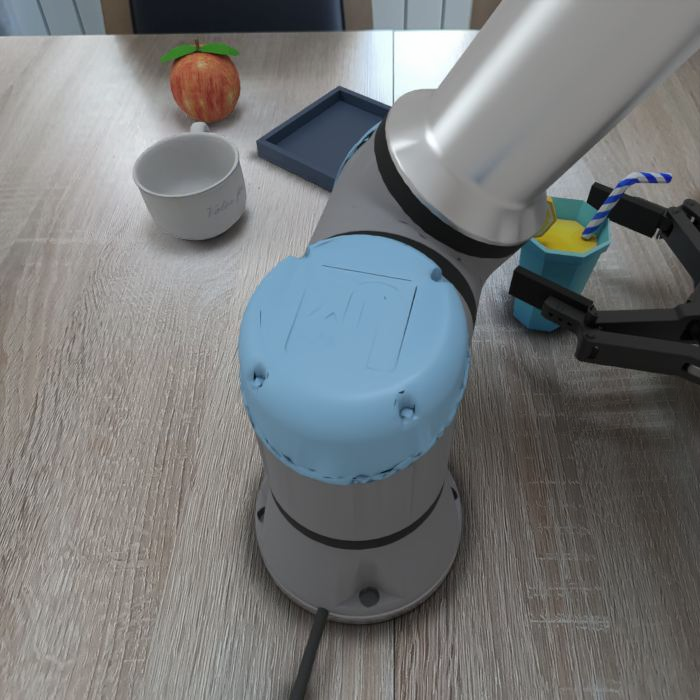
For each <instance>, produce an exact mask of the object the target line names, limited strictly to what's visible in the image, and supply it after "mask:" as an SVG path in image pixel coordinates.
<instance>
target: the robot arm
mask: <svg viewBox="0 0 700 700" xmlns="http://www.w3.org/2000/svg"><path fill="white" fill-rule="evenodd" d="M699 49H700V0H501V1H500V3H499V4H498V5H497V7H496V8H495V9H494V11H493V12H492V14H491V15H490V16H489V17H488V19H487V20H486V22H485V23H484V24H483V26H482V27H481V28H480V29H479V31H478V32H477V34H476V35H475V37H474V38H473V39H472V40H471V42H470V43H469V45H468V46H467V47H466V49H465V50H464V52H463V53H461V55H460V57H459V58H458V59H457V61H456V62H455V64H453V67H452V68H451V69H450V70H449V72H448V73H447V74H446V75H445V77H444V78H443V80H442V81H441V83H440V84H439V85H438V86H437V88H418V89H413V90H411V91H408V92H405V93H404V94H402V95H401V96H399V97H398V98H397V99H396V100H395V101H394V103H393V104H392V105H391V108H390V110H389V111H388V113H387V114H386V116H385V117H384V119H383V120H382V121H381V122H379V123H377V124H376V125H375V126H374V127H372V128H371V129H370V130H369V131H368V132H367V133H366V134H365V135H364V136H363V137H362V138H361V139H360V140H359V142H358V143H357V144H355V146H354V147H353V148H352V149H351V150H350V152H349V153H348V155H347V157H346V158H345V160H344V162H343V163H342V165H341V167H340V169H339V172H338V174H337V177H336V180H335V183H334V187H333V190H332V192H331V193H330V195H329V197H328V200H327V202H326V203H325V206H324V209H323V210H322V213H321V215H320V218H319V220H318V222H317V224H316V226H315V228H314V231H313V232H312V236H311V237H310V240H309V242H308V244H307V246H306V247H305V251H304V254H303V256H301V257H297V256H293V255H288V256H286V257H284V259H282V260H281V261H280V262H278V263H277V264H276V265H275V266H273V268H271V270H269V272H268V273H266V275H265V276H264V277H263V278H262V279H261V281H260V282H259V284H258V285H257V286H256V287H255V290H254V291H253V292H252V294H251V296H250V298H249V300H248V302H247V305H246V307H245V309H244V312H243V315H242V319H241V322H240V327H239V332H238V333H239V334H238V341H237V343H238V344H237V345H238V346H237V350H238V351H237V353H238V363H239V369H238V379H239V382H240V383H239V387H240V393H241V395H242V402H243V407H244V410H245V412H246V415H247V417H248V419H249V421H250V424H251V427H252V429H253V431H254V435H255V438H256V442H257V446H258V449H259V450H258V451H259V453H260V454H259V455H260V458H261V461H262V465H263V468H264V472H265V474H264V476H263V479H262V482H261V484H260V487H259V491H258V494H257V498H256V504H255V509H254V532H255V538H256V542H257V545H258V549H259V552H260V555H261V558H262V561H263V564H264V566H265V568H266V570H267V572H268V574H269V575H270V577H271V579H272V580H273V582H274V583H275V585H276V586H277V587H278V588H279V589H280V591H281V592H282V593H283V594H284V595H285V596H286V597H287V598H288V599H290V601H292V602H293V603H294V604H296V605H297V606H298V607H300V608H301V609H303V610H305V611H307V612H308V613H310V614H312V615H314V616H315V617H314V618H313V619H314V620H313V623H312V626H311V628H310V632H309V634H308V639H307V642H306V644H305V648H304V651H303V655H302V658H301V661H300V665H299V668H298V671H297V675H296V679H295V681H294V684H293V688H292V689H291V693H290V696H289V699H288V700H303V699H304V696H305V693H306V689H307V686H308V683H309V680H310V676H311V673H312V669H313V667H314V666H313V665H314V663H315V659H316V655H317V652H318V649H319V647H320V646H319V645H320V643H321V639H322V637H323V632H324V629H325V626H326V624H327V621H332V622H336V623H342V624H348V625H368V624H376V623H383V622H385V621H390V620H393V619H395V618H398V617H400V616H403V615H406V614H407V613H409V612H411V611H412V610H414V609H416V608H417V607H419V606H420V605H422V604H423V603H424V602H426V600H428V599H429V598H430V597H431V596H432V595H433V594H434V593H435V592H436V591H437V590H438V589H439V588H440V586H441V585H442V583H444V581H445V579H446V577H447V576H448V575H449V573H450V571H451V569H452V566H453V565H454V562H455V559H456V557H457V554H458V549H459V546H460V542H461V537H462V532H463V507H462V502H461V497H460V494H459V489H458V487H457V484H456V481H455V478H454V477H453V475H452V473H451V470H450V469H449V467H448V465H449V460H450V455H451V451H452V444H453V439H454V433H455V428H456V422H457V417H458V411H459V408H460V406H461V403H462V400H463V397H464V395H465V390H466V387H467V384H468V383H467V382H468V381H469V380H468V379H469V371H470V365H471V346H472V342H473V337H474V336H473V335H474V331H475V326H476V322H477V314H478V310H479V305H480V299H481V294H482V290H483V288H484V285H485V284H486V283H487V282H486V281H488V279H489V277H490V276H491V275H492V274H493V273H494V272H495V271H496V270H497V269H499V268H500V267H501V266H502V265H503V264H504V263H505V262H507V261H508V260H509V259H510V258H511V257H513V256H514V255H515V254H516V253H517V252H518V251H520V250H521V247H522V246H523V245H525V244H526V243H527V242H528V241H529V240H530V239H532V238H533V237H534V236H535V235H536V234H537V233H538V232H539V231H540V230H541V228H542V226H543V224H544V222H545V219H546V215H547V196H548V195H547V193H548V191H547V190H549V188H550V187H552V185H554V184H555V183H556V182H557V181H558V180H559V179H560V178H561V177H562V176H564V175H565V174H566V173H567V172H568V171H569V170H570V169H571V168H572V167H573V166H574V165H575V164H577V162H578V161H580V160H581V159H582V158H583V157H584V156H585V155H586V154H587V153H588V152H589V151H590V150H592V149H593V148H594V147H595V146H596V145H597V144H598V143H599V142H600V141H602V139H603V138H604V137H606V136H607V135H608V134H609V133H610V132H611V131H612V130H613V129H614V128H615V127H616V126H617V125H618V124H620V123H621V122H622V121H623V120H624V119H625V118H626V117H627V116H628V115H629V114H630V113H632V112H633V111H634V110H635V109H636V108H637V107H638V106H639V105H640V104H642V103H643V102H644V100H646V99H647V98H648V97H649V96H650V95H651V94H652V93H653V92H654V91H655V90H656V89H657V88H659V86H660V85H662V84H663V83H664V82H665V81H666V80H667V79H668V78H669V77H670V76H672V75H673V73H675V72H676V71H677V70H679V68H680V67H681V66H682V65H684V63H686V62H687V61H688V60H689V59H690V58H691V57H692V56H693V55H694V54H695V53H697V52H698V51H699ZM613 190H614V188H612V187H610V186H609V185H608V186H607V185H605V184H602V183H601V182H598V181H594V183H593V184H592V185H591V186H590V189H589V192H588V195H587V199H586V201H585V202H586V203H588V204H589V205H591V206H592V207H593V208H595V209H596V210H599V209H600V208H601V206H602V205H603V204H604V202H605V201H606V199H607V198H608V197H609V195H610V194H611V193H612V191H613ZM607 218H609V219H610V222H612V223H614V224H616V225H619V226H621V227H623V228H626V229H628V230H630V231H633V232H636V233H638V234H640V235H643V236H645V237H647V238H650V239H653V237H654V236H655V240H662V239H663V241H664V242H665V243H666V245H667V246H668V247H669V249H670V250H671V251H672V253H673V254H674V256H675V257H676V258H677V260H678V261H679V262H680V264H681V265H682V266H683V268H684V270H686V272H687V273H688V275H689V277H690V278H691V279H692V280H693V283H694V285H693V287H694V290H693V292H691V294H690V295H689V296H688V298H687V299H686V301H685V303H680V304H677V305H676V306H674V307H670V308H646V309H645V308H644V309H643V308H642V309H611V310H608V309H607V310H597V308H596V306H595V304H594V300H592V299H590V298H588V297H586V296H584V295H582V294H581V295H579V294H577V293H575V292H573V291H571V290H569V289H567V288H565V287H563V286H561V285H559V284H557V283H555V282H553V281H550V280H548V279H546V278H544V277H542V276H540V275H538V274H536V273H534V272H532V271H530V270H528V269H526V268H524V267H521V266H519V264H518V265H517V266H516V267H515V268H514V269H513V271H512V276H511V280H510V284H509V288H508V295H510V296H512V297H514V298H515V297H516V298H518V299H519V300H521V301H523V302H525V303H527V304H529V305H531V306H533V307H535V308H537V309H539V310H541V315H542V316H543V317H544V318H545V319H547V320H549V321H552V322H553V323H555V324H557V325H559V326H560V327H561V328H562V329H565V330H567V331H569V332H570V333H572V334H573V335H575V337H576V339H577V341H576V348H575V351H574V355H573V356H574V358H575V359H576V360H577V361H578V362H582V363H587V364H592V365H598V366H599V365H600V366H607V367H612V368H618V369H619V368H620V369H626V370H633V371H639V372H645V373H652V374H658V375H665V376H672V377H678V378H681V379H683V380H685V381H688V382H690V383H693V384H695V385H697V386H700V203H699V202H698V201H697V200H695V199H693V198H685V199H684V200H683V201H682V204H680V205H678V206H676V205H675V206H669V207H665V206H663V205H660V204H657V203H656V202H653V201H651V200H649V199H645V198H642V197H640V196H632V195H630V194H627V193H624V194H623V195H622V197H621V198H620V199H619V201H618V202H617V203H616V205H615V206H614V207H613V209H612V210H611V211H610V213H609V214H608V215H607ZM692 218H694V219H693V220H692ZM691 220H692V221H691ZM657 230H658V231H657ZM656 232H657V233H656ZM697 345H698V346H697Z"/></svg>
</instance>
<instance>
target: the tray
mask: <svg viewBox="0 0 700 700" xmlns="http://www.w3.org/2000/svg"><path fill="white" fill-rule="evenodd" d="M391 107H392V105H389V104H386V103H384V102H381V101H379V100H376V99H374V98H371V97H369V96H367V95H364V94H361V93H359V92H356V91H354V90H352V89H349V88H347V87H344V86H342V85H338V86H336V87H334V88H333V89H332V90H330V91H328V92H327V93H325V94H324V95H322V96H321V97H319V98H318V99H315V101H313V102H311V103H310V104H309V105H307V106H306V107H304V108H303V109H301V110H299V111H298V112H297V113H295V114H294V115H292V116H291V117H290V118H288V119H285V121H283V122H282V123H280V124H279V125H277V126H276V127H274V128H273V129H272V130H269V131H268V132H266V133H265V134H264V135H262V136H261V137H260V138H258V139H256V140H255V145H256V149H257V150H256V151H257V156H258V157H260V158H262V159H264V160H266V161H268V162H270V163H272V164H274V165H276V166H277V167H280V168H282V169H285V170H286V171H288V172H291V173H292V174H294V175H296V176H299V177H301V178H302V179H305V180H307V181H308V182H311V183H313V184H314V185H317V186H318V187H320V188H323V189H325V190H327V191H329V192H331V193H332V190H333V187H334V183H335V180H336V177H337V174H338V172H339V169H340V167H341V165H342V163H343V162H344V160H345V158H346V157H347V155H348V153H349V152H350V150H351V149H352V148H353V147H354V146H355V144H357V143H358V142H359V140H360V139H361V138H362V137H363V136H364V135H365V134H366V133H367V132H368V131H369V130H370V129H371V128H372V127H374V126H375V125H376V124H377V123H379V122H381V121H382V120H383V119H384V117H385V116H386V114H387V113H388V111H389V110H390V108H391Z"/></svg>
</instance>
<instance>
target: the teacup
mask: <svg viewBox="0 0 700 700" xmlns="http://www.w3.org/2000/svg"><path fill="white" fill-rule="evenodd" d="M131 171H132V172H131V173H132V179H133V181H134V183H135V185H136V187H137V188H138V190H139V193H140V195H141V197H142V200H143V202H144V204H145V206H146V209H147V210H148V213H149V214H150V216H151V218H152V220H153V221H154V223H155V224H156V225H157V227H159V229H161V230H162V231H163V232H164V233H166V234H168V235H169V236H172V237H174V238H177V239H182V240H188V241H189V240H190V241H204V240H205V241H206V240H210V239H212V238H213V239H214V238H216V237H218V236H220V235H222V234H224V233H225V232H226V231H227V230H229V229H230V228H231V227H232V226H234V225H235V224H236V222H238V220H239V219H240V218H241V216H242V214H243V213H244V210H245V208H246V203H247V188H246V183H245V182H246V181H245V177H244V173H243V169H242V165H241V161H240V151H239V149H238V147H237V145H236V144H235V143H234V142H233V141H232V140H231V139H230V138H228V137H226V136H224V135H222V134H220V133H216V132H210V128H209V126H208V124H207V122H201V121H196V122H193V123H192V124H191V125H190V128H189V131H188V132H182V133H178V134H174V135H170V136H167V137H164V138H163V139H161V140H159V141H157V142H155V143H153V144H152V145H150V146H149V147H147V148H146V149H145V150H144V151H143V152H142V153H141V154H140V155H139V156H138V157H137V158H136V160H135V162H134V164H133V166H132V170H131Z"/></svg>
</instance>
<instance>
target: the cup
mask: <svg viewBox="0 0 700 700" xmlns="http://www.w3.org/2000/svg"><path fill="white" fill-rule="evenodd" d="M672 180H673V174H672V173H670V172H656V171H655V172H654V171H653V172H651V171H633V172H630V174H628V175H626V176H625V177H624V178H623V179H621V180H620V181H618V183H617V184H616V186H615V187H614V188H613V189H614V190H613V191H612V193H611V194H610V195H609V197H608V198H607V199H606V201H605V202H604V204H603V205H602V206H601V208H600V209H599V210H596V209H595V208H593V207H592V206H591V205H589V204H588V203H586V202H587V201H585V200H584V199H577V198H576V199H575V198H568V197H567V198H566V197H557V196H549V195H547V215H546V219H545V222H544V224H543V226H542V228H541V230H540V231H539V232H538V233H537V234H536V235H535V236H534V237H533V238H532V239H530V240H529V241H528V242H527V243H526V244H525V245H523V246H522V247H521V248H520V253H519V261H518V265H519V266H521V267H524V268H526V269H528V270H530V271H532V272H534V273H536V274H538V275H540V276H542V277H544V278H546V279H548V280H550V281H553V282H555V283H557V284H559V285H561V286H563V287H565V288H567V289H569V290H571V291H573V292H575V293H577V294H579V295H582V293H583V291H584V289H585V287H586V284H587V283H588V281H589V279H590V277H591V275H592V273H593V271H594V269H595V267H596V265H597V263H598V261H599V259H600V257H601V255H602V254H604V253H606V252H607V250H608V248H609V247H610V246H611V244H612V243H611V241H612V239H611V221H610V219H609V218H607V215H608V214H609V213H610V211H611V210H612V209H613V207H614V206H615V205H616V203H617V202H618V201H619V199H620V198H621V197H622V195H623V194H624V193H625V192H626V191H627V190H628V189H629V188H630V187H631V186H633V185H635V184H670V183H671V182H672ZM625 194H626V193H625ZM513 302H514V304H513V313H512V315H513V316H514V318H516V319H517V321H519V322H520V323H521V324H522V325H523V326H525V327H526V328H527V329H528V330H536V331H542V332H549V333H550V332H553V331H554V330H556V329H558V328H560V327H561V326H559V325H557V324H555V323H553V322H552V321H549V320H547V319H545V318H544V317H543V316H542V315H541V310H539V309H537V308H535V307H533V306H531V305H529V304H527V303H525V302H523V301H521V300H519V299H518V298H516V297H514V301H513Z"/></svg>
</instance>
